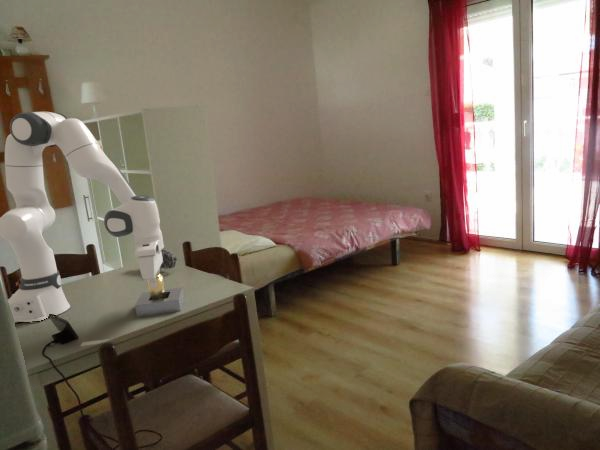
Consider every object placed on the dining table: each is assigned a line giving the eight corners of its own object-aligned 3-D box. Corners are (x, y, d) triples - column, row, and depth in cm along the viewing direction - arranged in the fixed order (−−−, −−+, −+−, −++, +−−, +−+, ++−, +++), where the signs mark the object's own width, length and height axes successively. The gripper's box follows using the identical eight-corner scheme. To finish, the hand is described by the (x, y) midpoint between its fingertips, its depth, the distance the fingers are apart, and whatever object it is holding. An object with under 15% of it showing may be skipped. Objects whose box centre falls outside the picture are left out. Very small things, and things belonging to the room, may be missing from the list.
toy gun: (145, 266, 217) (142, 245, 215) (180, 271, 204) (176, 249, 201) (139, 268, 215) (136, 247, 213) (174, 274, 201) (170, 251, 199)
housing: (137, 319, 155) (135, 305, 154) (144, 306, 167) (141, 292, 166) (181, 313, 157) (178, 299, 156) (184, 300, 169) (182, 287, 168)
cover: (149, 303, 158) (145, 278, 157) (152, 297, 163) (148, 274, 161) (164, 301, 159) (161, 276, 157) (166, 295, 164) (163, 272, 162)
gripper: (145, 238, 167) (151, 275, 170) (133, 253, 147) (140, 295, 150) (163, 236, 167) (169, 273, 170) (154, 251, 148) (161, 292, 151)
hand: (155, 283), depth 160 cm, fingers closed on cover, 5 cm apart
